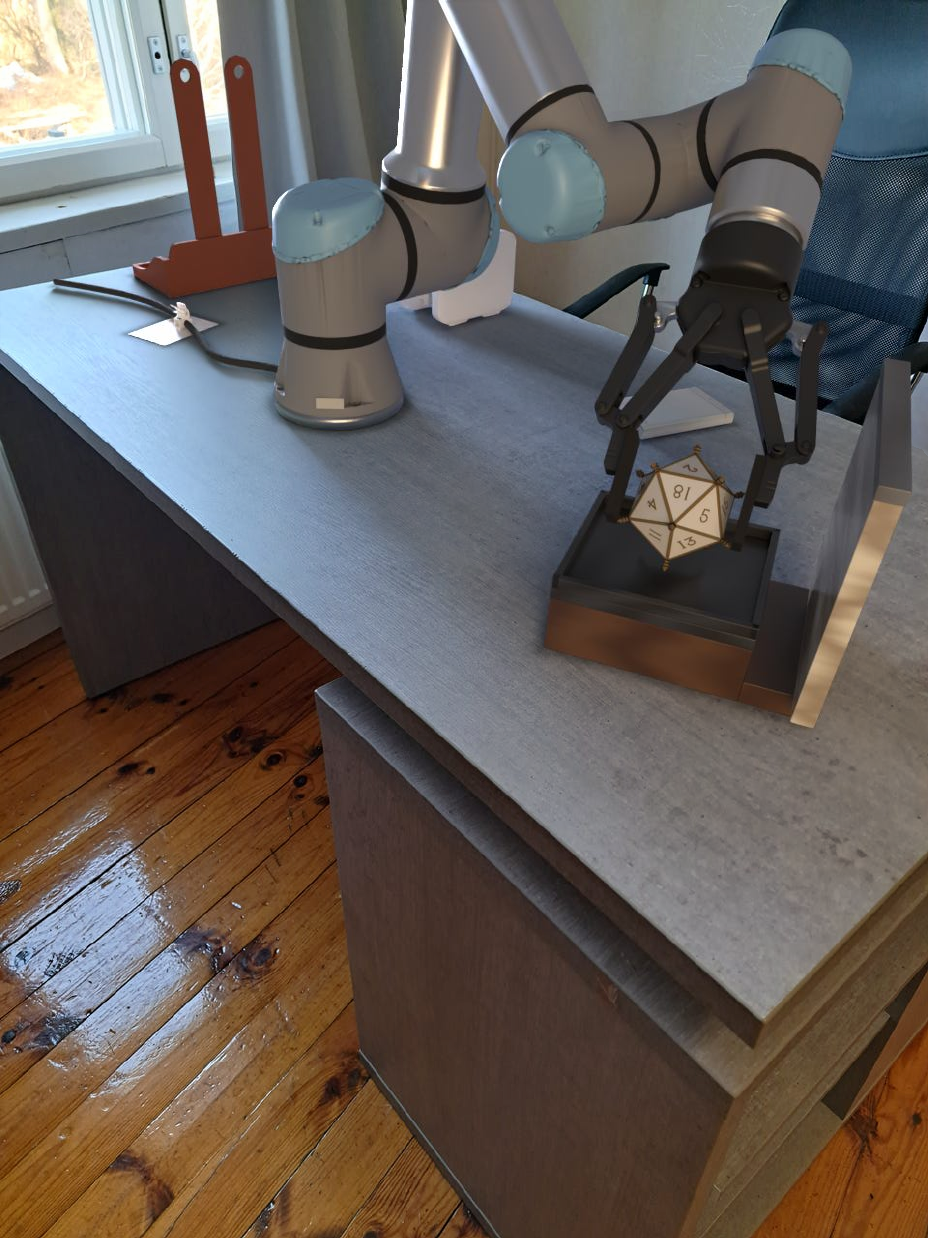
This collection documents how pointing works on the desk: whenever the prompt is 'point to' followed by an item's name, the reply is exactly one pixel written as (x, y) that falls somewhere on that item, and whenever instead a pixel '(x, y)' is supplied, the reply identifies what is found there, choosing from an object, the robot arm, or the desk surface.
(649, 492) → the game die
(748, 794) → the desk surface
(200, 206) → the hanging shelf
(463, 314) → the cable organizer
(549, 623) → the holder
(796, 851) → the desk surface
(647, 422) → the hard drive
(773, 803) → the desk surface
